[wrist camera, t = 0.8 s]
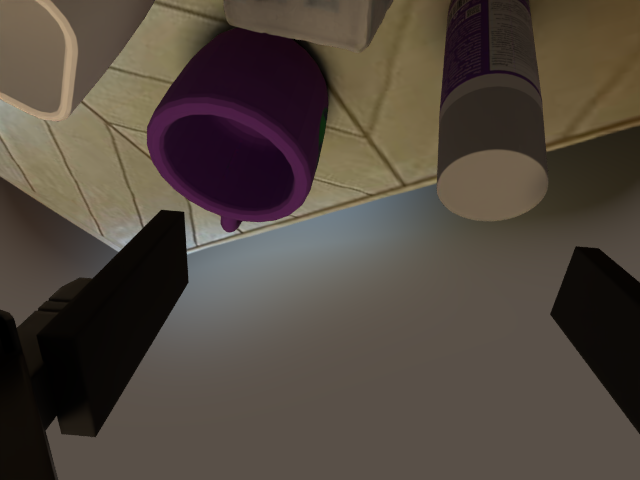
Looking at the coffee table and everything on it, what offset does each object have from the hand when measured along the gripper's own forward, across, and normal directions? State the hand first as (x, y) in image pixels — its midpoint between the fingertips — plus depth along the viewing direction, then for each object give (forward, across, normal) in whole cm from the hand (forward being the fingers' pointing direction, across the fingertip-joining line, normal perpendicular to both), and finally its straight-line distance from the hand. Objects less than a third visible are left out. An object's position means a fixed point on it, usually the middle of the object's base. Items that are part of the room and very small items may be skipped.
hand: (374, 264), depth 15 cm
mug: (+25, -8, +1) cm, 26 cm away
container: (+18, +7, +9) cm, 21 cm away
